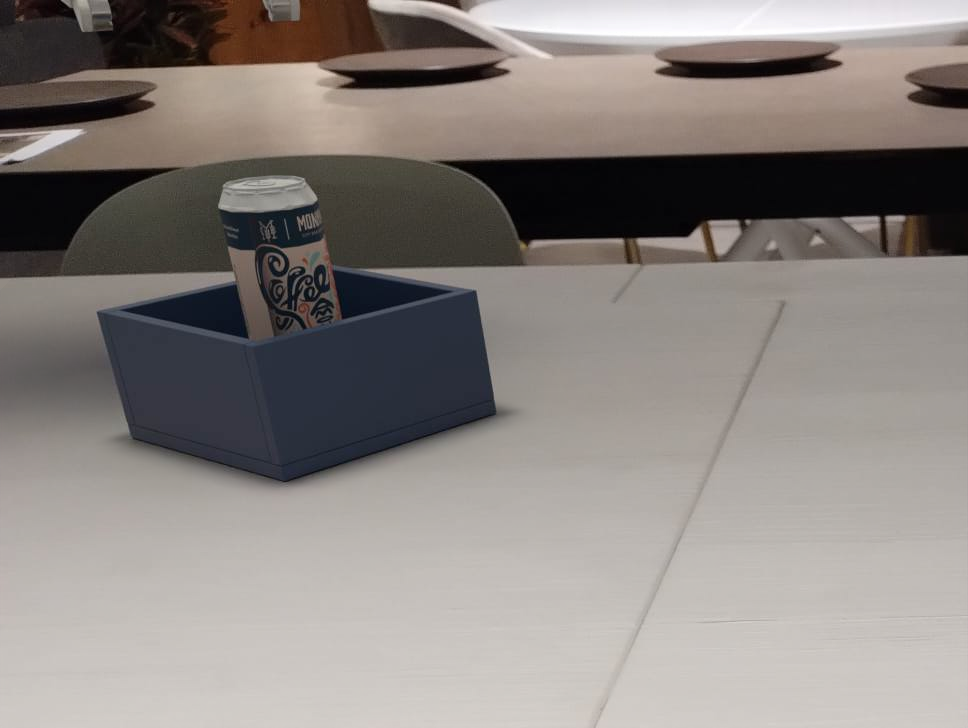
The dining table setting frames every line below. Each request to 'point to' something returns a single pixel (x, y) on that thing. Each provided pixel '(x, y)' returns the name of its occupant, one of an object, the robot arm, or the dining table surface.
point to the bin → (300, 373)
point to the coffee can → (278, 255)
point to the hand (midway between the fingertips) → (194, 18)
